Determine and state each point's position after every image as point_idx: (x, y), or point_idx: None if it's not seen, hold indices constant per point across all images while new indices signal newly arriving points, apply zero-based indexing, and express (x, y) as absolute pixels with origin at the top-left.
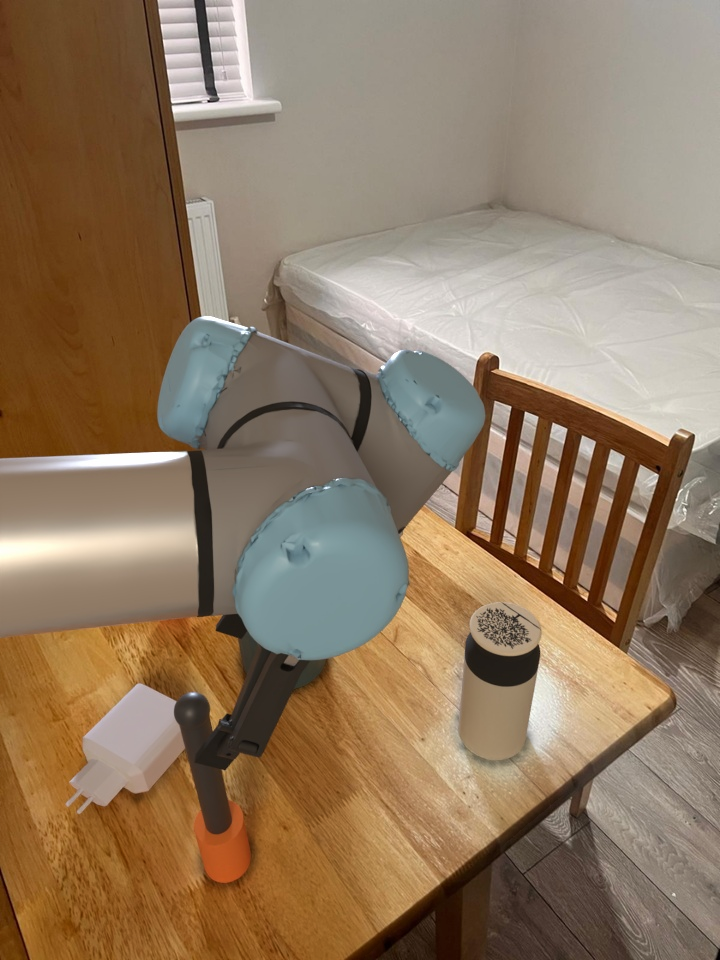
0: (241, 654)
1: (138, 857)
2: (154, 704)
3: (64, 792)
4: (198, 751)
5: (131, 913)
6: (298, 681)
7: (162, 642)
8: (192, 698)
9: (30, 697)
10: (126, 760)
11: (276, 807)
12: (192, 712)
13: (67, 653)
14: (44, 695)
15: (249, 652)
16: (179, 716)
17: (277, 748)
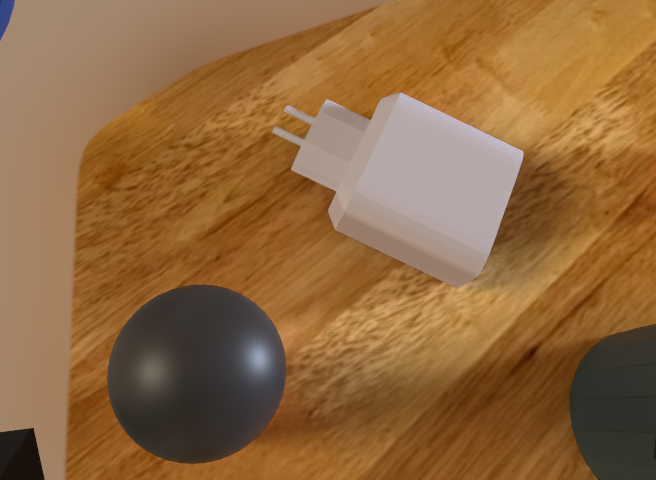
0: (632, 334)
1: (223, 246)
2: (483, 194)
3: (324, 102)
4: (12, 450)
5: (132, 261)
6: (599, 465)
7: (626, 173)
8: (199, 380)
9: (478, 3)
10: (360, 177)
11: (328, 471)
12: (131, 397)
13: (568, 30)
14: (485, 21)
15: (639, 359)
16: (127, 328)
17: (448, 446)
